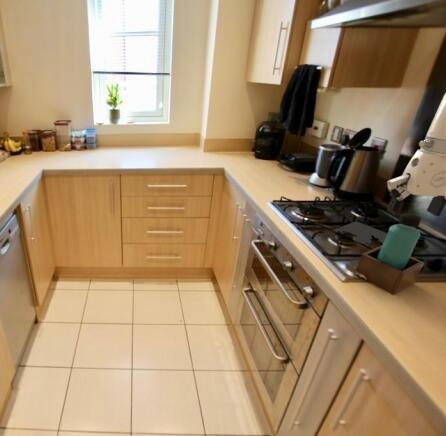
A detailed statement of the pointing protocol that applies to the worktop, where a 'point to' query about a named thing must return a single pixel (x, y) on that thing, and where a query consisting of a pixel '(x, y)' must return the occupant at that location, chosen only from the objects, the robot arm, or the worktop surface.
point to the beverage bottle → (400, 242)
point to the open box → (388, 272)
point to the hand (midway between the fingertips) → (412, 213)
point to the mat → (362, 232)
